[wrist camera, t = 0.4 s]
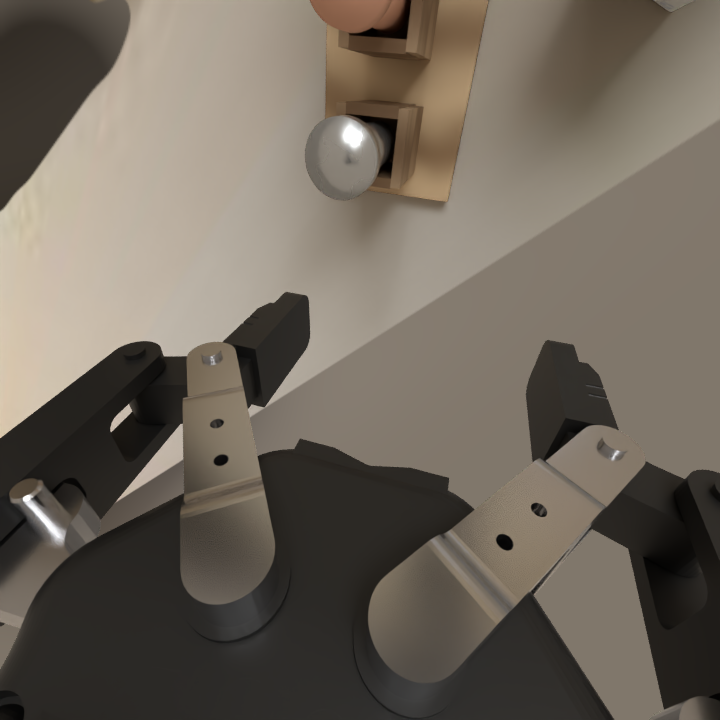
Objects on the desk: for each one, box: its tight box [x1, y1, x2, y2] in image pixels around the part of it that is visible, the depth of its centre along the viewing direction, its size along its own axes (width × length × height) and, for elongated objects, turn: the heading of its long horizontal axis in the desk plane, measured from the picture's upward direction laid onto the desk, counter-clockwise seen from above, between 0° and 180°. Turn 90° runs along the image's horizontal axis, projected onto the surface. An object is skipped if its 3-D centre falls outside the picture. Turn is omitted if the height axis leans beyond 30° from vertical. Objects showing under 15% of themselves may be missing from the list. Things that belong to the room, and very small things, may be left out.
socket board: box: [325, 0, 489, 202], centre depth 26 cm, size 25×12×8 cm, turn 176°
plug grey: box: [305, 115, 396, 200], centre depth 26 cm, size 4×4×9 cm
